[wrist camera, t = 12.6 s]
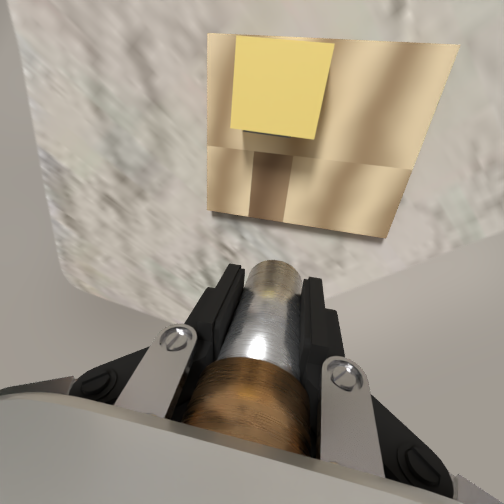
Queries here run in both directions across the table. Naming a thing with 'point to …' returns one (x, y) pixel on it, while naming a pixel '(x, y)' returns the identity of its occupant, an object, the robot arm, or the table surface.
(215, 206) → the subfloor panel
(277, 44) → the yellow rectangular block
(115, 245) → the table surface
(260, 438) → the two-tone metal cylinder
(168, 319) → the table surface
